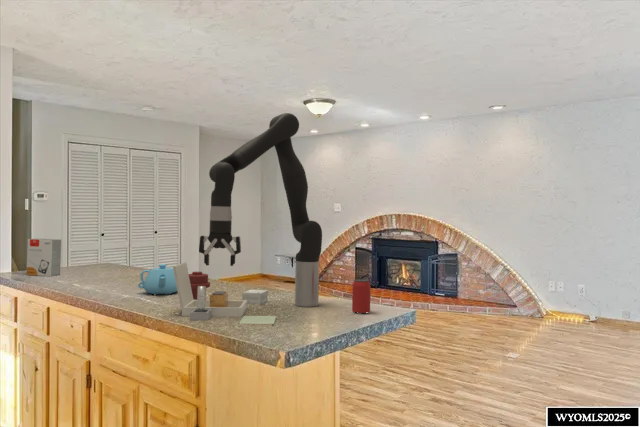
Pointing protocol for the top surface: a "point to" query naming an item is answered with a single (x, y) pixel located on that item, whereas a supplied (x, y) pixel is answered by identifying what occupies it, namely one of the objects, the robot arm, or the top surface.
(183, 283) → the case
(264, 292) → the small box
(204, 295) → the rod
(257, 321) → the pad
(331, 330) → the top surface
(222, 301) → the module
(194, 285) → the mechanical component
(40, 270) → the hard drive box
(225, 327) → the top surface
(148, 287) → the teapot
